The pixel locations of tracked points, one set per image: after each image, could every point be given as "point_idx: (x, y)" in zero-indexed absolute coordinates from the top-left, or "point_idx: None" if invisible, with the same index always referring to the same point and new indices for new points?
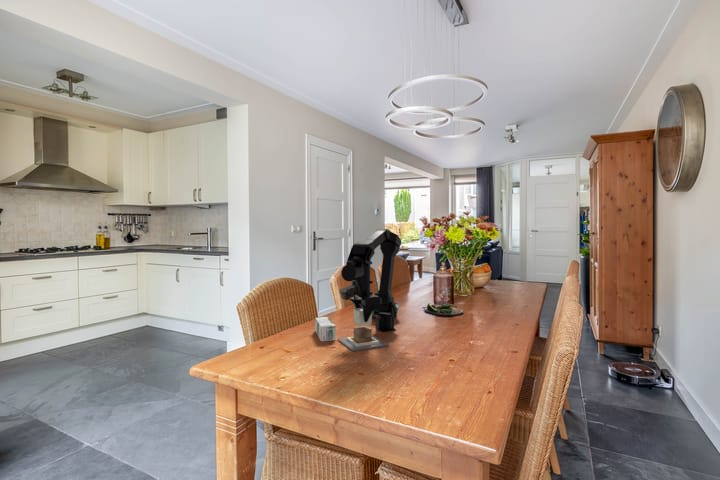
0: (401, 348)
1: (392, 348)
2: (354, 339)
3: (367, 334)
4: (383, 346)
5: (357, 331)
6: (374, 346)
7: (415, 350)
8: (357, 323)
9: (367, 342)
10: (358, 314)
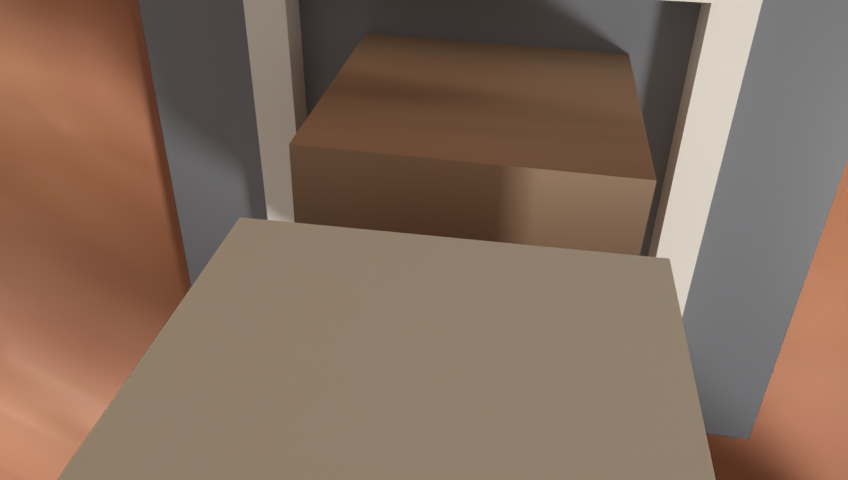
0: (99, 412)
1: (122, 345)
2: (586, 60)
3: None
4: None
5: (398, 132)
6: (176, 188)
7: (11, 469)
8: (361, 243)
9: (281, 161)
10: (144, 473)
